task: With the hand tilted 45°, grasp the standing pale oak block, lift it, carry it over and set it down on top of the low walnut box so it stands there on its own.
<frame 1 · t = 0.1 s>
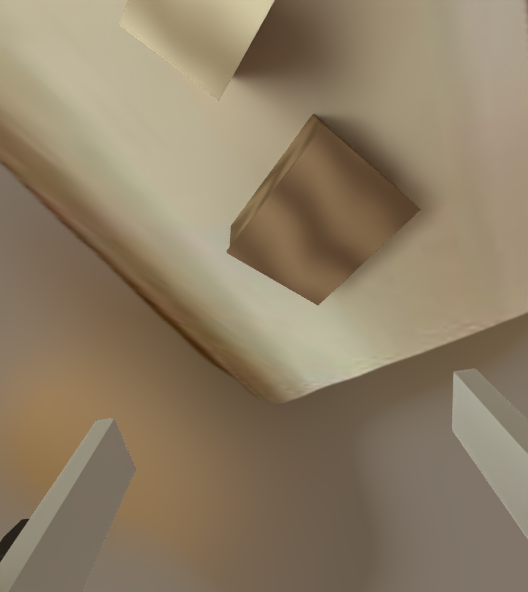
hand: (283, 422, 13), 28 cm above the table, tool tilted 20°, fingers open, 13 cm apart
oak block: (214, 12, 27), on the table
walnut box: (311, 205, 37), on the table
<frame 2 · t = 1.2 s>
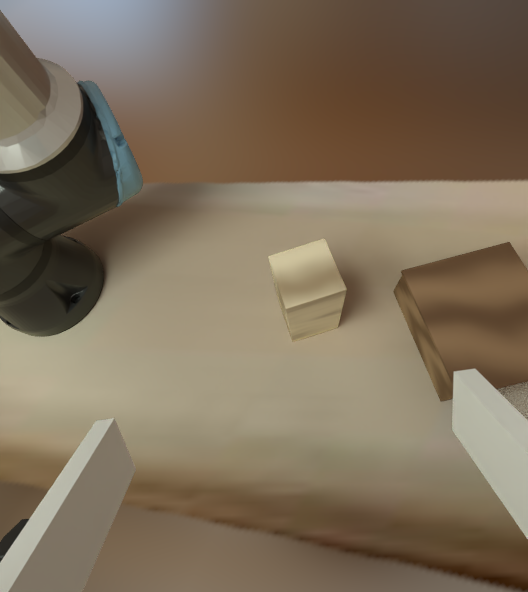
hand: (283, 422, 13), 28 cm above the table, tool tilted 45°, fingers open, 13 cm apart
oak block: (307, 313, 44), on the table
walnut box: (463, 330, 41), on the table
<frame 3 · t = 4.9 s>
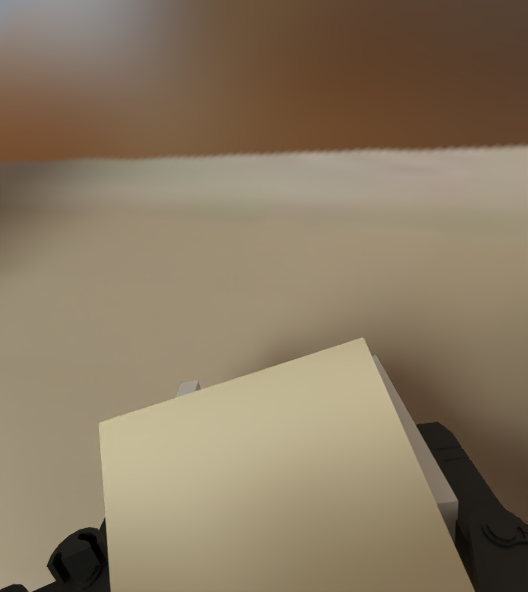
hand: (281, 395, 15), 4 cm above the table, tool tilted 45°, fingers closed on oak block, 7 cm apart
oak block: (298, 477, 17), on the table, touching gripper
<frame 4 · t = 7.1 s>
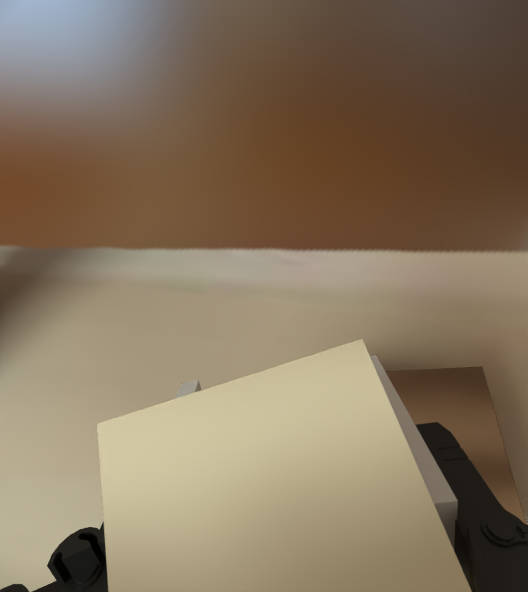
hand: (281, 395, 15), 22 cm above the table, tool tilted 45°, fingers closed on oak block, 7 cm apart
oak block: (297, 478, 17), point 18 cm above the table, touching gripper
walnut box: (405, 456, 33), on the table
when the fingers open (11 cm above the table, at t = 9.8 s): oak block drops 2 cm, point 6 cm above the table.
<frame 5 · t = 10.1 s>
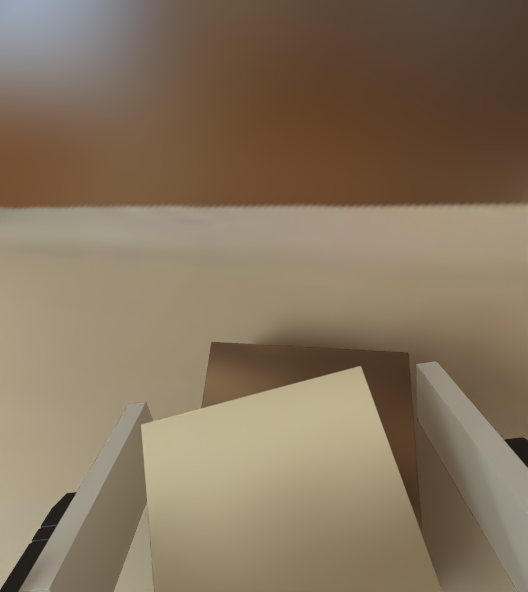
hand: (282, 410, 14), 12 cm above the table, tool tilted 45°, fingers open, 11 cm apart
oak block: (297, 475, 19), point 6 cm above the table
walnut box: (302, 466, 24), on the table
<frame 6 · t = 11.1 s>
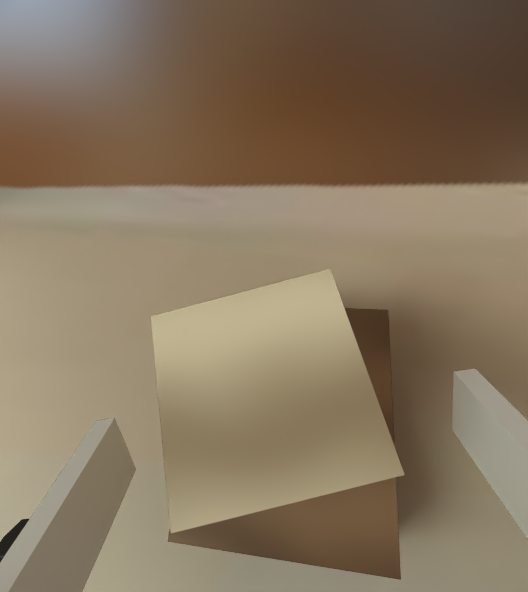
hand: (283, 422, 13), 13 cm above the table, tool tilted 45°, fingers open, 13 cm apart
oak block: (287, 416, 21), point 6 cm above the table, touching walnut box
walnut box: (292, 420, 26), on the table, touching oak block
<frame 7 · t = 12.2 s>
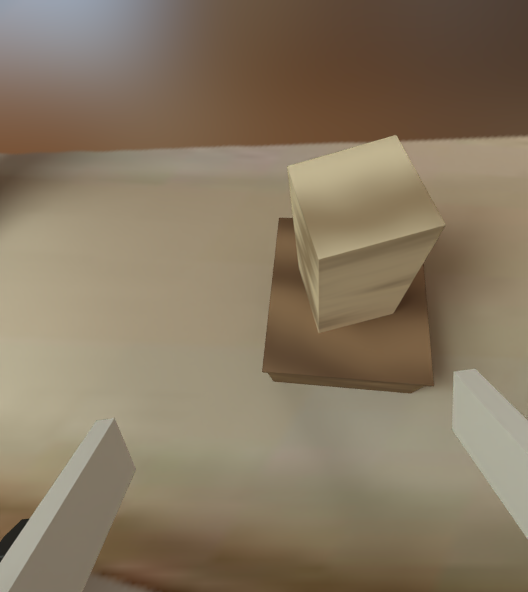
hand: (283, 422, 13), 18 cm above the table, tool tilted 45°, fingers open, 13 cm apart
oak block: (343, 290, 28), point 6 cm above the table, touching walnut box
walnut box: (341, 315, 33), on the table, touching oak block
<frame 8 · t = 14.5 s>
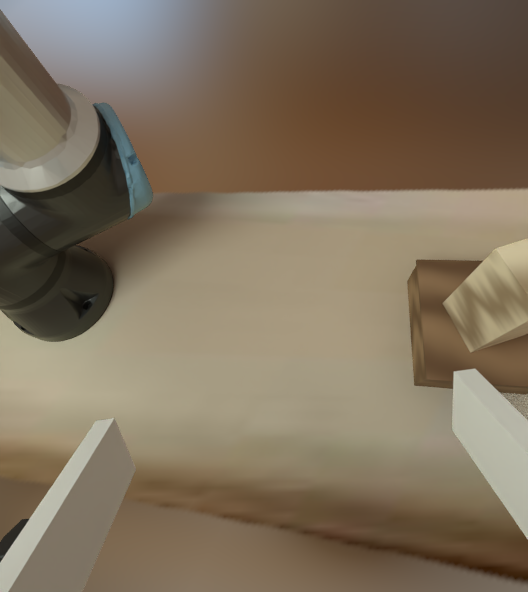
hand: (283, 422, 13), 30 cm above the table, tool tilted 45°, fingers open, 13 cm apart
oak block: (481, 318, 37), point 6 cm above the table, touching walnut box
walnut box: (459, 333, 43), on the table, touching oak block
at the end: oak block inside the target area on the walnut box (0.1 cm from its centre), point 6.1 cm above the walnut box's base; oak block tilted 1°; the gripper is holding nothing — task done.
